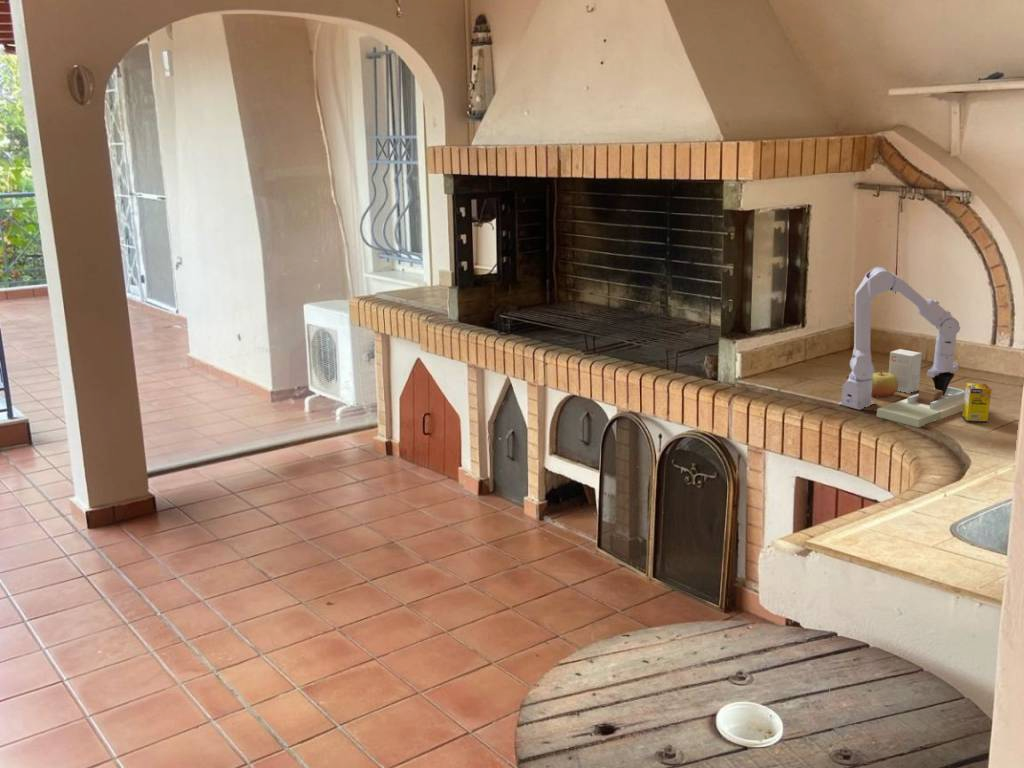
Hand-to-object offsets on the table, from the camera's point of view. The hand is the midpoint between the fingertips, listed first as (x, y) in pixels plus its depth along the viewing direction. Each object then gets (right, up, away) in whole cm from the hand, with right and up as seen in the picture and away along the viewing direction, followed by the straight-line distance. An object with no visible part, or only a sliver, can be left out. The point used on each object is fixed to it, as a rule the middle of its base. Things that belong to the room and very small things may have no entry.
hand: (940, 395), depth 306 cm
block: (-5, -2, -3) cm, 6 cm away
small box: (-4, +1, +20) cm, 20 cm away
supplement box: (+5, -8, -12) cm, 15 cm away
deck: (-6, -5, -3) cm, 8 cm away
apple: (-13, 0, +14) cm, 20 cm away
